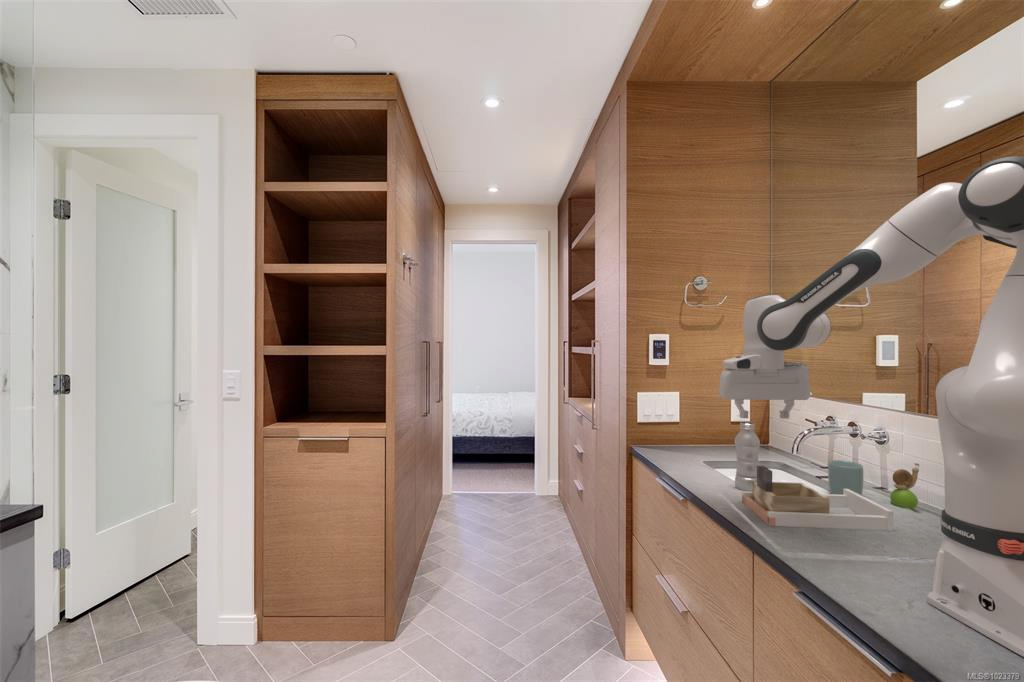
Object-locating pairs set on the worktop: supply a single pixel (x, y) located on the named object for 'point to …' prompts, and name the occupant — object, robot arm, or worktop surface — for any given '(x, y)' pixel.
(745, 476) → the plastic bottle
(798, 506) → the drawer
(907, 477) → the snail figurine
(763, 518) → the white tray
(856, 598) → the worktop surface
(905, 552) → the worktop surface
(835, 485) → the cup
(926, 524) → the worktop surface
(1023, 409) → the robot arm
